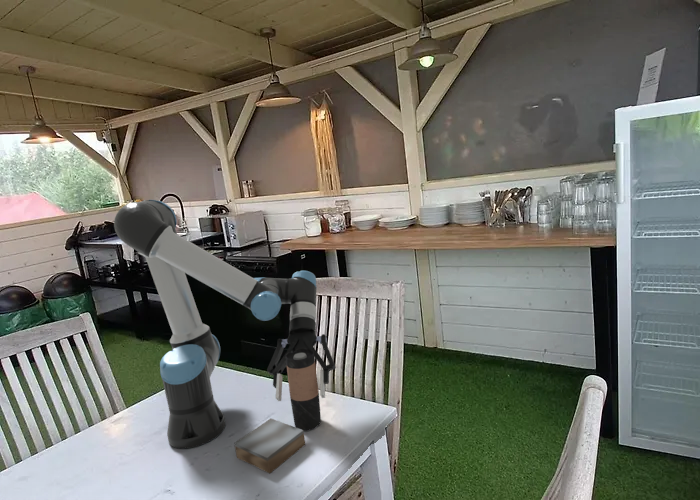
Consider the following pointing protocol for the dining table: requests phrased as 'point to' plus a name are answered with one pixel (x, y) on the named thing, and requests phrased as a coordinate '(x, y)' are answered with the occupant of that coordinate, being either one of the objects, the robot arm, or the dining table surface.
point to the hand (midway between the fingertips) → (300, 398)
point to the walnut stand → (270, 445)
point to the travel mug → (303, 389)
